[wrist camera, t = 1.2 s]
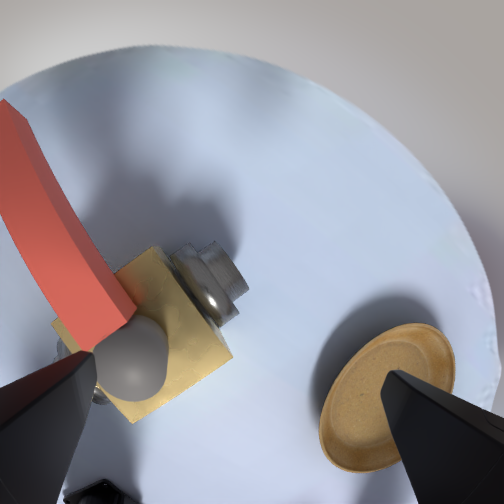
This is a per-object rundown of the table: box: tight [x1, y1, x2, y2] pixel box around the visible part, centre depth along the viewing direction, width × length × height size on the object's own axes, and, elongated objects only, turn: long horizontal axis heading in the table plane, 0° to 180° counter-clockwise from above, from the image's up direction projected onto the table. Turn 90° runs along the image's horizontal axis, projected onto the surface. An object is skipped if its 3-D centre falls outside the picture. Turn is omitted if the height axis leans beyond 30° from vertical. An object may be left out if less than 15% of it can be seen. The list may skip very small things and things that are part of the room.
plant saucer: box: [319, 323, 455, 473], centre depth 24 cm, size 15×15×3 cm
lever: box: [0, 99, 169, 402], centre depth 12 cm, size 15×3×3 cm, turn 35°
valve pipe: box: [51, 241, 249, 424], centre depth 18 cm, size 13×7×6 cm, turn 125°
